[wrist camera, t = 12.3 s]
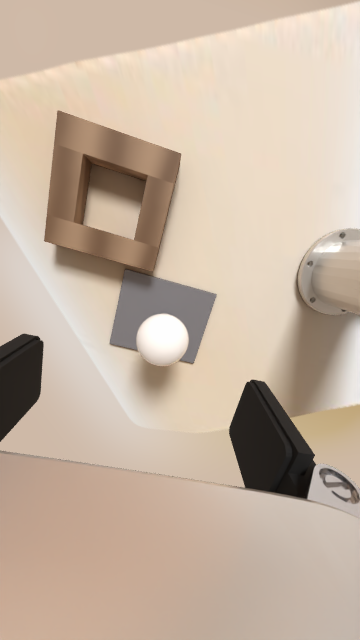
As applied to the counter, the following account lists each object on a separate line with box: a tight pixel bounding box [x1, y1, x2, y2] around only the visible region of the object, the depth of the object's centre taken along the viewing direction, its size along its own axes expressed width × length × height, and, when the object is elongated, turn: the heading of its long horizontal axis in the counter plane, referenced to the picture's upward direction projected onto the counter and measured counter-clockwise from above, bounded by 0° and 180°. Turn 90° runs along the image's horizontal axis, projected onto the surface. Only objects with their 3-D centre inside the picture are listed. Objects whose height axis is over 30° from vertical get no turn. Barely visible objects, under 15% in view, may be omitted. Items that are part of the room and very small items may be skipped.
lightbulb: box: [136, 313, 189, 366], centre depth 29 cm, size 6×6×11 cm
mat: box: [110, 269, 216, 363], centre depth 35 cm, size 14×12×1 cm
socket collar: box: [44, 111, 181, 272], centre depth 29 cm, size 14×14×3 cm
